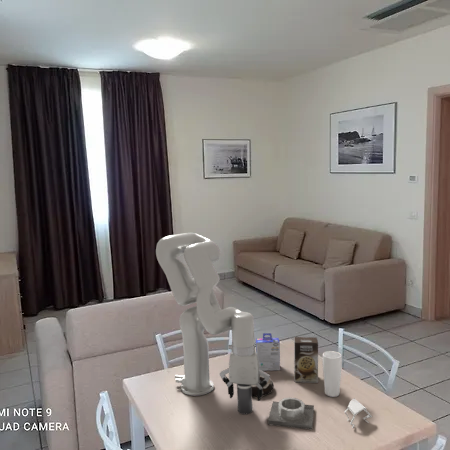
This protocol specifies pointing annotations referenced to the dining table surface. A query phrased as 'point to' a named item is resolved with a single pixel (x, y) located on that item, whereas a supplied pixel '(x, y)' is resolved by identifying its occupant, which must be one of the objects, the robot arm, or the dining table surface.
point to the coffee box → (306, 359)
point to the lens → (244, 398)
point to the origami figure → (356, 410)
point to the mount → (291, 414)
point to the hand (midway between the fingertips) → (245, 397)
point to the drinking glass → (332, 372)
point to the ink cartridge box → (268, 353)
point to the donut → (266, 388)
